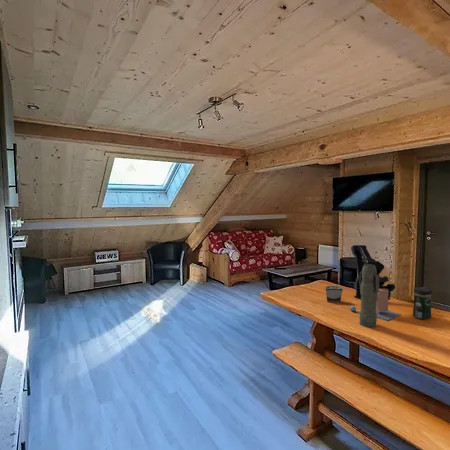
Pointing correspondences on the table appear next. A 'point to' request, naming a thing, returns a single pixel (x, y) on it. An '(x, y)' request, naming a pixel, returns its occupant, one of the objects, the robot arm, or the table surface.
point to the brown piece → (382, 300)
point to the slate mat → (386, 315)
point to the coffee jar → (422, 303)
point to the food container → (333, 293)
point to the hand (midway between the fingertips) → (382, 299)
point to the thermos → (368, 295)
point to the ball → (353, 308)
